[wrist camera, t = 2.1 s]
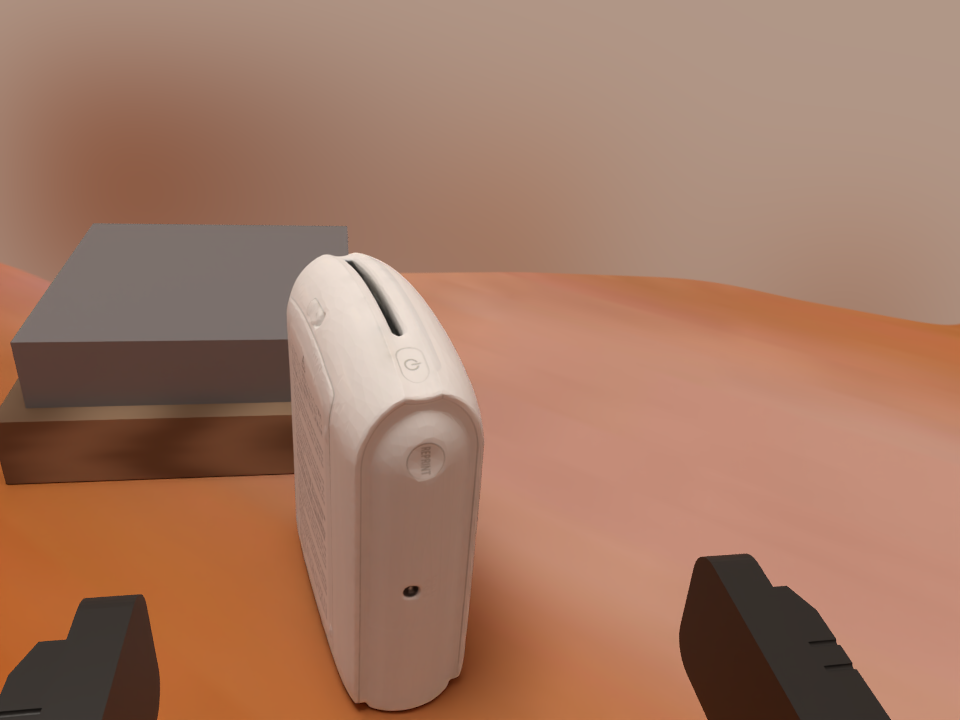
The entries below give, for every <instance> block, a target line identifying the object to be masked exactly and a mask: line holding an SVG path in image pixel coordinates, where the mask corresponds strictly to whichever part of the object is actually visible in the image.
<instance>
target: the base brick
mask: <svg viewBox="0 0 960 720" xmlns="http://www.w3.org/2000/svg"><path fill="white" fill-rule="evenodd" d="M0 462H1V466H2V470H3V474H4V478H5V481H6V484H22V483H49V482H76V481H102V480H129V479H155V478H182V477H208V476H235V475H262V474H288V473H294V451H293V429H292V407H291V402H267V403H225V404H183V405H140V406H98V407H56V408H26V407H25V403H24V398H23V394H22V390H21V386H20V381H19V378H18V379H17V381H16V383H15V384H14V386H13V387H12V389H11V390H10V392H9V394H8V395H7V397H6V398H5V400H4V402H3V403H2V405H1V406H0Z"/></svg>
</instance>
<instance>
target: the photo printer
mask: <svg viewBox="0 0 960 720" xmlns="http://www.w3.org/2000/svg"><path fill="white" fill-rule="evenodd" d="M287 333H288V349H289V366H290V384H291V407H292V429H293V451H294V475H295V499H296V521H297V528H298V533H299V538H300V542H301V547H302V551H303V555H304V561H305V563H306V567H307V570H308V574H309V578H310V582H311V585H312V589H313V592H314V596H315V599H316V603H317V606H318V610H319V613H320V616H321V620H322V624H323V627H324V630H325V633H326V636H327V639H328V643H329V646H330V649H331V652H332V655H333V658H334V661H335V664H336V667H337V669H338V672H339V674H340V677H341V679H342V682H343V684H344V686H345V688H346V690H347V692H348V693H349V695H350V697H351V698H352V700H353V701H354V702H355V703H362V702H366V703H367V704H368V706H369V707H372V708H374V709H379V710H385V711H398V710H406V709H411V708H415V707H418V706H421V705H423V704H425V703H427V702H430V701H431V700H433V699H434V698H435V697H437V696H438V695H439V694H440V693H441V692H442V691H443V690H444V689H445V688H446V687H447V685H448V682H449V680H450V679H453V678H456V677H458V676H459V675H460V672H461V669H462V664H463V659H464V652H465V642H466V632H467V623H468V613H469V603H470V593H471V583H472V572H473V561H474V551H475V540H476V530H477V520H478V509H479V499H480V488H481V475H482V463H483V451H484V434H483V425H482V420H481V415H480V409H479V406H478V402H477V399H476V396H475V393H474V390H473V387H472V384H471V382H470V380H469V377H468V375H467V373H466V370H465V368H464V366H463V364H462V362H461V360H460V358H459V355H458V354H457V352H456V350H455V348H454V346H453V344H452V342H451V340H450V339H449V337H448V335H447V333H446V332H445V330H444V329H443V327H442V325H441V324H440V322H439V321H438V319H437V317H436V316H435V314H434V313H433V311H432V310H431V309H430V307H429V306H428V305H427V303H426V302H425V300H424V299H423V298H422V297H421V295H420V294H419V293H418V292H417V290H416V289H415V288H414V287H413V286H412V285H411V284H410V283H409V282H408V281H407V280H406V279H405V278H404V277H403V276H402V275H401V274H399V273H398V272H397V271H396V270H394V269H393V268H391V267H390V266H388V265H387V264H385V263H383V262H382V261H380V260H378V259H376V258H373V257H371V256H368V255H364V254H361V253H352V254H349V255H346V256H333V255H328V254H326V255H322V256H320V257H318V258H316V259H315V260H313V261H312V262H311V263H310V264H308V265H307V266H306V267H305V268H304V269H303V271H302V272H301V273H300V275H299V276H298V278H297V279H296V281H295V283H294V286H293V288H292V291H291V294H290V297H289V301H288V305H287Z"/></svg>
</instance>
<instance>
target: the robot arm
mask: <svg viewBox="0 0 960 720" xmlns="http://www.w3.org/2000/svg"><path fill="white" fill-rule="evenodd" d="M679 643H680V652H681V657H682V661H683V665H684V668H685V670H686V673H687V675H688V677H689V680H690V682H691V684H692V686H693V688H694V691H695V693H696V695H697V697H698V699H699V701H700V704H701V706H702V708H703V710H704V712H705V715H706V717H707V719H708V720H891V719H890V718H889V716H888V715H887V713H886V712H885V710H884V709H883V707H882V706H881V704H880V703H879V701H878V700H877V699H876V697H875V696H874V694H873V693H872V691H871V690H870V688H869V687H868V685H867V684H866V682H865V681H864V679H863V678H862V676H861V675H860V673H859V672H858V671H857V669H853V667H852V662H851V660H850V659H849V657H848V656H847V654H846V653H845V651H844V650H843V648H842V647H841V645H837V643H836V638H835V637H834V635H833V634H832V632H831V631H830V629H829V628H828V626H827V625H826V623H825V622H824V620H823V619H822V617H821V616H820V615H819V613H818V612H817V610H816V609H814V608H813V607H812V606H811V605H810V604H808V603H807V602H806V601H805V600H803V599H802V598H801V597H800V596H799V595H797V594H796V593H795V592H794V591H792V590H791V589H790V588H789V587H787V586H779V587H773V586H772V585H771V583H770V581H769V580H768V578H767V577H766V575H765V574H764V572H763V570H762V569H761V567H760V566H759V564H758V563H757V561H756V560H755V559H754V558H753V557H752V556H751V555H749V554H735V555H721V556H706V557H700V558H698V560H697V561H696V563H695V566H694V569H693V573H692V578H691V582H690V586H689V591H688V595H687V599H686V604H685V608H684V612H683V617H682V621H681V625H680V632H679ZM159 699H160V677H159V669H158V663H157V658H156V653H155V647H154V642H153V637H152V632H151V626H150V621H149V616H148V611H147V605H146V601H145V598H144V597H143V595H141V594H139V595H125V596H110V597H96V598H85V599H83V600H82V601H81V603H80V604H79V606H78V609H77V611H76V614H75V617H74V620H73V623H72V625H71V628H70V631H69V634H68V637H67V639H66V640H56V641H44V642H38V643H37V644H36V645H35V646H34V648H33V649H32V650H31V651H30V652H29V653H28V654H27V655H26V656H25V657H24V659H23V660H22V661H21V662H20V663H19V664H18V665H17V666H16V667H15V669H14V670H13V671H12V672H11V673H10V674H9V675H8V678H7V680H6V682H5V685H4V687H3V690H2V692H1V694H0V720H157V716H158V710H159Z"/></svg>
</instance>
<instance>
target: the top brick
mask: <svg viewBox="0 0 960 720" xmlns="http://www.w3.org/2000/svg"><path fill="white" fill-rule="evenodd" d="M347 235H348V234H347V226H273V225H271V226H270V225H265V226H264V225H183V224H182V225H181V224H93V225H92V226H91V227H90V229H89V230H88V232H87V233H86V235H85V236H84V238H83V239H82V240H81V242H80V243H79V245H78V246H77V248H76V249H75V251H74V252H73V253H72V255H71V256H70V258H69V259H68V261H67V262H66V263H65V265H64V266H63V268H62V269H61V271H60V272H59V273H58V275H57V276H56V278H55V279H54V281H53V282H52V284H51V285H50V286H49V288H48V289H47V291H46V292H45V294H44V295H43V296H42V298H41V299H40V301H39V302H38V304H37V305H36V306H35V308H34V309H33V311H32V312H31V314H30V315H29V317H28V318H27V319H26V321H25V322H24V324H23V325H22V327H21V328H20V329H19V331H18V332H17V334H16V335H15V337H14V338H13V340H12V341H11V342H10V343H11V347H12V351H13V356H14V360H15V364H16V369H17V373H18V377H19V381H20V386H21V390H22V394H23V398H24V403H25V407H26V408H56V407H98V406H140V405H183V404H225V403H267V402H291V384H290V366H289V349H288V333H287V305H288V301H289V297H290V294H291V291H292V288H293V286H294V283H295V281H296V279H297V278H298V276H299V275H300V273H301V272H302V271H303V269H304V268H305V267H306V266H307V265H308V264H310V263H311V262H312V261H313V260H315V259H316V258H318V257H320V256H322V255H326V254H328V255H333V256H346V255H348V236H347Z"/></svg>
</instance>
